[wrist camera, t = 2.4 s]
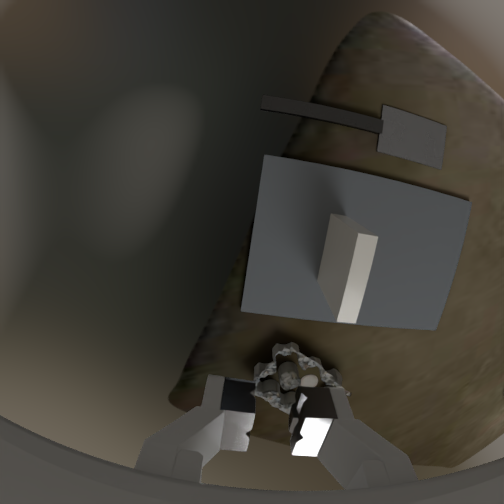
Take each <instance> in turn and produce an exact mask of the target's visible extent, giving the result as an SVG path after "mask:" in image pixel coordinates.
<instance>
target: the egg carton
mask: <svg viewBox="0 0 504 504" xmlns="http://www.w3.org/2000/svg"><path fill="white" fill-rule="evenodd" d="M292 351H293V352H295V353H297V356H298V362H299V365H300V366H301V368H302V370H306V369H307V368H309V367H315V366H317V367H318V368H319V371H320V377H321V380H322V381H324V382H325V384H326V385H333V386H326V387H324V388H328V387H339V388H343V387H342V386H341V384H342V376H341V375H340V373H339V371H338V370H336V369H334V368H333V369H331V370H328V371H325V370H324V368H322V367H323V366H322V364H321V361H320V359H319V358H316V357H314V356H312V357H310V358H308V357H306V356H304V355H303V354H301V353H300V352H299V346H298V345H297V344H295V343H294V342H290V343H288V344H278V343H277V344H276V345H275V346H274V347H273V348H272V356H273V361H272V362H271V363H266V364H264V363H258V364H257V365H256V366H255V367H254V380H253V381H255V382H256V390H255V395H256V396H260V397H262V398H263V399H264V400H265V401H268V402H269V403H270V404H271V405H272V406H273V407H276V408H278V409H280V410H282V411H283V412H286V413H288V414H290V410H291V406H292V404H294V403H295V402H296V400H295V393H296V392H287V393H285V394H282V393H280V386H279V383H278V382H277V381H275V380H272V379H269V380H265V381H263V382H261V381H260V378H265V377H266V376H267V375H272V374H274V373H275V372H276V355H277V354H278V353H280V354H282V355H284V356H286V355H291V352H292ZM278 373H279V382H280V385H281V387H282V388H283V389H284V390H290V389H294V388H295V387H297V386H300V385H301V386H307V387H315V386H316V385H317V383H318V378H317V377H316V376H315V375H312V374H309V375H305V376H303V377H302V378H301V380H300V378H299V373H298V368H297V365H296V364H295V363H293V362H284V363H282V364H281V365H280V366H279V369H278ZM343 389H344V388H343ZM344 391H345V394H346V396H347V395H348V396H351V393H349V391H346V390H345V389H344Z"/></svg>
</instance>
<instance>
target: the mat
mask: <svg viewBox="0 0 504 504" xmlns="http://www.w3.org/2000/svg"><path fill="white" fill-rule="evenodd" d="M471 205H472V202H469V201H466V200H463V199H460V198H457V197H453V196H450V195H446V194H443V193H440V192H436V191H433V190H429V189H425V188H422V187H418V186H414V185H411V184H407V183H403V182H399V181H395V180H391V179H387V178H383V177H378V176H374V175H370V174H365V173H361V172H356V171H352V170H347V169H342V168H337V167H333V166H328V165H322V164H317V163H312V162H306V161H301V160H295V159H289V158H283V157H277V156H271V155H264V160H263V167H262V173H261V180H260V187H259V194H258V200H257V207H256V213H255V219H254V226H253V233H252V239H251V246H250V253H249V259H248V266H247V273H246V279H245V286H244V293H243V299H242V306H241V311H244V312H251V313H258V314H266V315H274V316H282V317H290V318H298V319H307V320H316V321H325V322H335V323H345V322H336V319H335V317H334V315H333V313H332V311H331V309H330V307H329V305H328V302H327V300H326V298H325V296H324V294H323V292H322V290H321V288H320V286H319V284H318V282H317V278H318V274H319V269H320V265H321V260H322V255H323V250H324V246H325V241H326V236H327V231H328V225H329V220H330V215H331V213H332V214H338V215H343V216H347V217H349V218H350V219H352V220H353V221H355V222H356V223H358V224H360V225H361V226H363V227H364V228H366V229H367V230H369V231H370V232H372V233H374V234H375V235H377V236H378V241H377V245H376V249H375V253H374V258H373V262H372V266H371V270H370V274H369V278H368V281H367V285H366V289H365V292H364V296H363V300H362V303H361V307H360V310H359V314H358V317H357V320H356V325H367V326H379V327H392V328H406V329H422V330H436V328H437V326H438V323H439V320H440V317H441V315H442V312H443V309H444V306H445V303H446V300H447V297H448V294H449V291H450V288H451V285H452V281H453V278H454V275H455V271H456V268H457V264H458V261H459V257H460V253H461V250H462V246H463V242H464V238H465V233H466V229H467V225H468V220H469V215H470V210H471ZM345 324H355V323H345Z"/></svg>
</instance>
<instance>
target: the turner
mask: <svg viewBox="0 0 504 504" xmlns="http://www.w3.org/2000/svg"><path fill="white" fill-rule="evenodd" d="M260 110H262V111H268V112H275V113H281V114H288V115H293V116H299V117H304V118H310V119H315V120H320V121H325V122H329V123H334V124H338V125H343V126H347V127H351V128H356V129H360V130H364V131H368V132H372V133H375V134H379V136H378V144H377V150H376V151H377V152H381V153H385V154H388V155H392V156H396V157H399V158H403V159H407V160H410V161H414V162H417V163H420V164H424V165H427V166H430V167H433V168H437V169H440V170H441V169H442V162H443V154H444V147H445V138H446V129H447V126H445V125H442V124H440V123H437V122H434V121H431V120H429V119H426V118H423V117H420V116H417V115H414V114H411V113H408V112H405V111H402V110H399V109H396V108H393V107H389V106H386V105H382V113H381V119H377V118H373V117H370V116H366V115H362V114H358V113H354V112H350V111H346V110H342V109H337V108H333V107H328V106H324V105H319V104H314V103H309V102H304V101H298V100H292V99H286V98H281V97H274V96H268V95H263V96H262V103H261V109H260Z"/></svg>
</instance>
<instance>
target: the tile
mask: <svg viewBox="0 0 504 504" xmlns="http://www.w3.org/2000/svg"><path fill="white" fill-rule="evenodd" d="M377 241H378V236H377V235H375V234H374V233H372V232H370V231H369V230H367V229H366V228H364V227H363V226H361V225H360V224H358V223H356V222H355V221H353V220H352V219H350V218H349V217H347V216H343V215H338V214H332V213H331V215H330V220H329V225H328V231H327V236H326V241H325V246H324V250H323V255H322V260H321V265H320V269H319V274H318V278H317V282H318V284H319V286H320V288H321V290H322V292H323V294H324V296H325V298H326V300H327V302H328V305H329V307H330V309H331V311H332V313H333V315H334V317H335V319H336V322H345V323H355V324H356V320H357V317H358V314H359V310H360V307H361V303H362V300H363V296H364V292H365V289H366V285H367V281H368V278H369V274H370V270H371V266H372V262H373V258H374V253H375V249H376V245H377Z"/></svg>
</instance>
